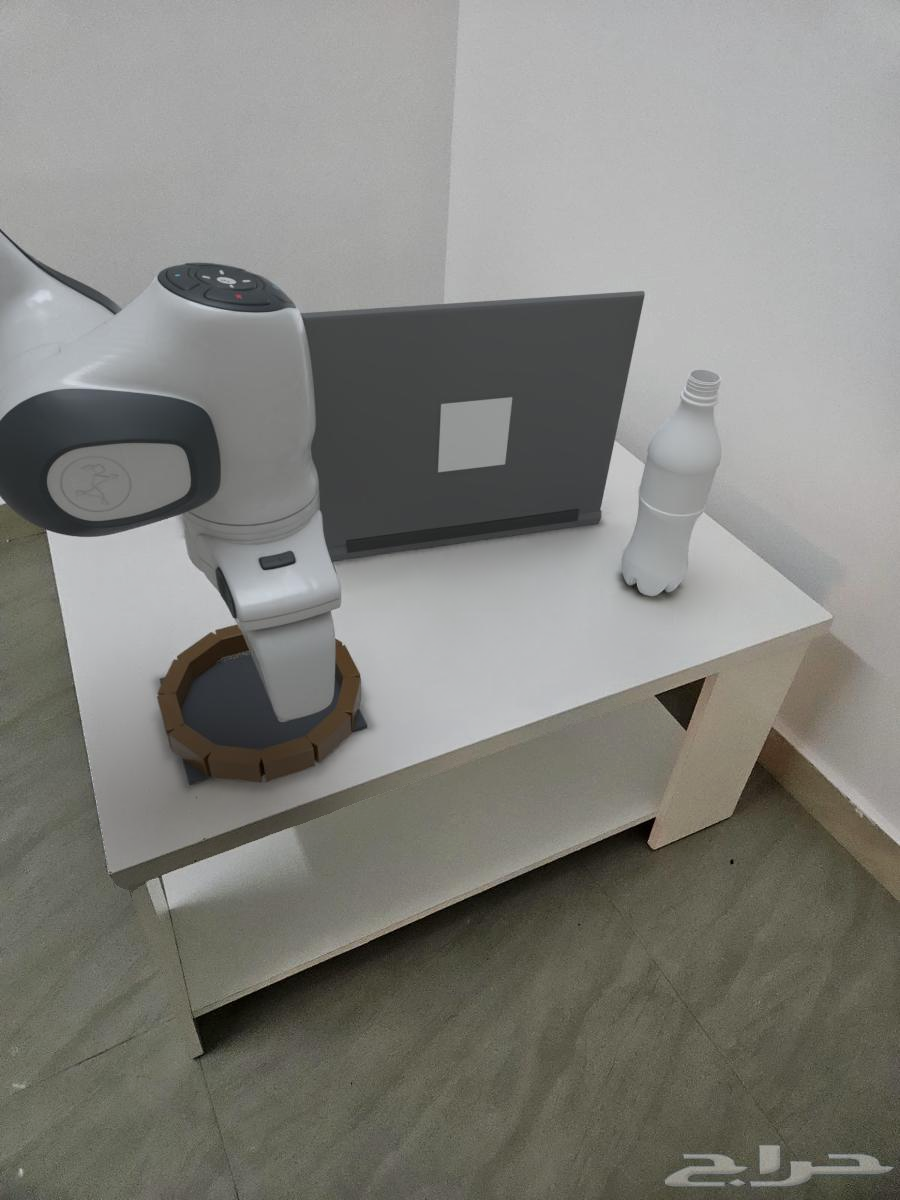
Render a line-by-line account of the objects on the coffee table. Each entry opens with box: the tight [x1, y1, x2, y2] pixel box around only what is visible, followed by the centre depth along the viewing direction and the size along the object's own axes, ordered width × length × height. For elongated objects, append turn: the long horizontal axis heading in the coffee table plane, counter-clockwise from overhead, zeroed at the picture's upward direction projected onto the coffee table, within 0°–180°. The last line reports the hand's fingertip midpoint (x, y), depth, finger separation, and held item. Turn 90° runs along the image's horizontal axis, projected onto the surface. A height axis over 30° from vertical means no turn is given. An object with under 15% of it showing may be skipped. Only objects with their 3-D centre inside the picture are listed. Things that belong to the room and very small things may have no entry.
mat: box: [159, 653, 368, 786], centre depth 76 cm, size 16×13×1 cm
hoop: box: [156, 624, 362, 783], centre depth 75 cm, size 18×18×2 cm
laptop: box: [300, 290, 646, 562], centre depth 97 cm, size 35×28×28 cm
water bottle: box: [621, 368, 722, 597], centre depth 84 cm, size 7×7×25 cm
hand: (269, 670), depth 63 cm, fingers open, 8 cm apart
